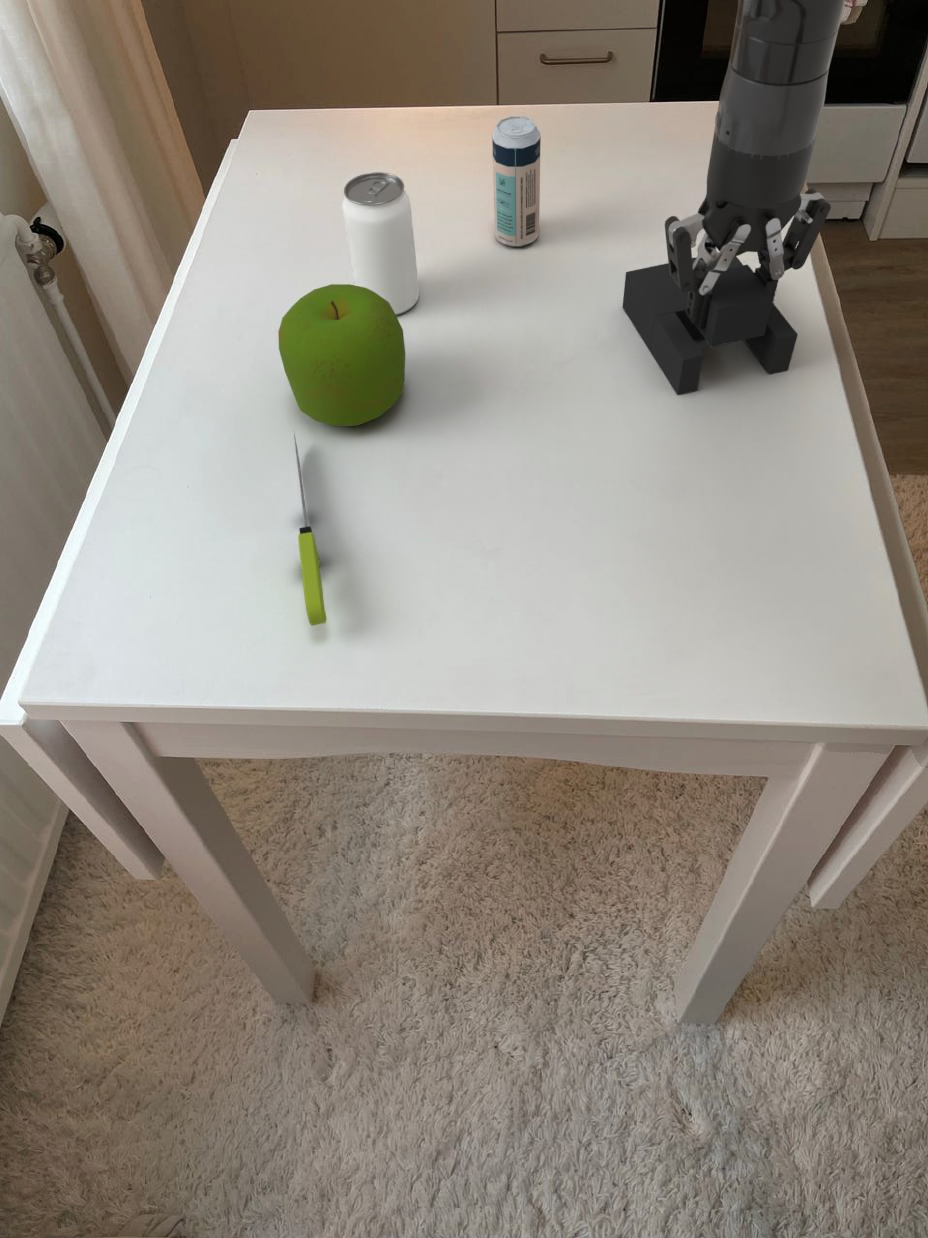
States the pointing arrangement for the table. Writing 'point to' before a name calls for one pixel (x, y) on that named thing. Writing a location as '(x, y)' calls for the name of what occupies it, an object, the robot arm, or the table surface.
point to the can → (381, 238)
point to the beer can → (516, 180)
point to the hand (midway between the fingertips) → (727, 315)
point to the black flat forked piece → (691, 328)
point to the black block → (737, 307)
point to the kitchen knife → (310, 565)
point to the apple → (343, 354)
